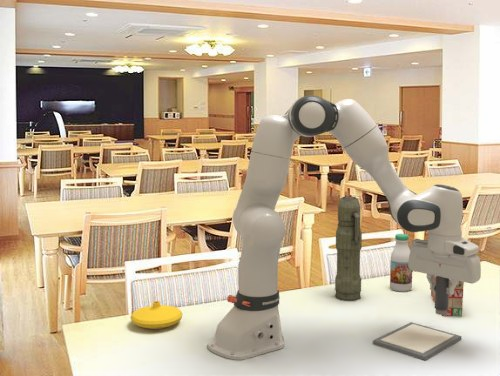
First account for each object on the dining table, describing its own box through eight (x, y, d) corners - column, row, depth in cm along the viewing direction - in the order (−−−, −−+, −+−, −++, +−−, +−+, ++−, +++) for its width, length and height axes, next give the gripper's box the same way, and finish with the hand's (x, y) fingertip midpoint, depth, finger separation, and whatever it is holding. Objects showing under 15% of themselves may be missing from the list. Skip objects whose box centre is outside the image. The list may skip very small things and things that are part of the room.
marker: (443, 316, 165) (446, 265, 163) (431, 313, 168) (433, 262, 166) (450, 313, 167) (453, 262, 166) (438, 310, 170) (440, 260, 168)
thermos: (347, 290, 215) (349, 194, 210) (368, 299, 204) (370, 198, 200) (327, 294, 211) (328, 196, 206) (347, 303, 200) (349, 200, 196)
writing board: (425, 360, 155) (425, 356, 155) (372, 343, 166) (372, 339, 166) (461, 339, 169) (461, 335, 168) (410, 325, 180) (411, 321, 180)
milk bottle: (385, 287, 219) (386, 233, 216) (404, 284, 221) (405, 231, 218) (396, 293, 211) (398, 237, 209) (415, 290, 214) (417, 236, 211)
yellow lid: (120, 329, 179) (119, 306, 179) (150, 313, 194) (150, 291, 193) (163, 337, 173) (163, 313, 172) (192, 320, 187) (191, 298, 186)
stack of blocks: (430, 295, 209) (431, 261, 207) (448, 296, 208) (450, 261, 206) (441, 316, 188) (443, 278, 186) (462, 317, 187) (464, 279, 185)
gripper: (404, 239, 170) (403, 286, 172) (474, 251, 156) (471, 302, 157) (416, 236, 174) (414, 282, 176) (484, 247, 160) (482, 297, 162)
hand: (441, 292), depth 167 cm, fingers closed on marker, 4 cm apart
